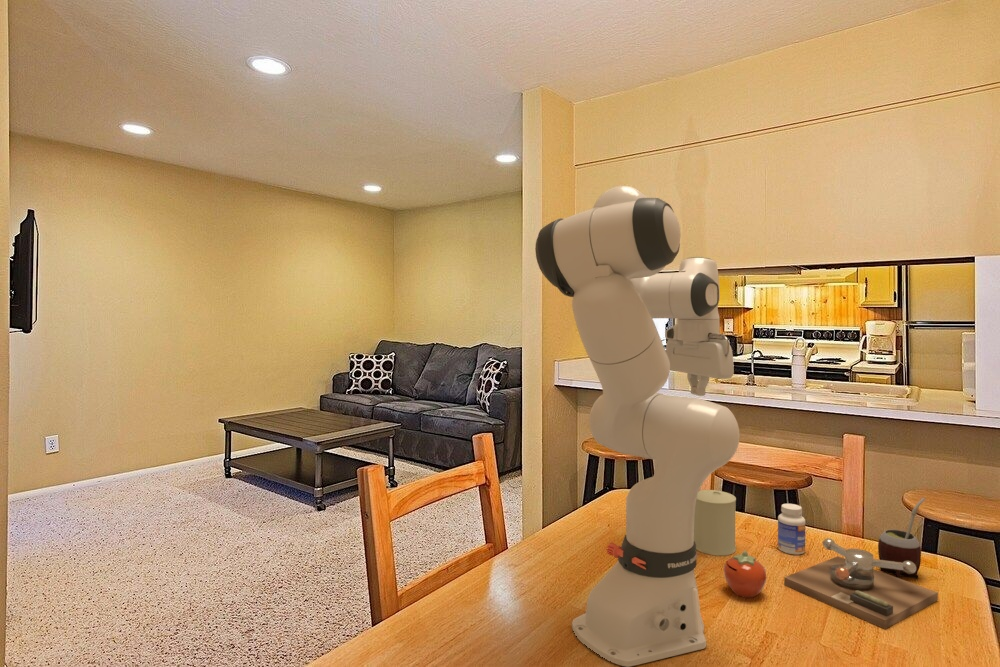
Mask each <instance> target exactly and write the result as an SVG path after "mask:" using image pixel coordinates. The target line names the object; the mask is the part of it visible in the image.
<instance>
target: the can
mask: <svg viewBox="0 0 1000 667" xmlns="http://www.w3.org/2000/svg"><path fill="white" fill-rule="evenodd" d="M736 502H737V497H736V496H735V495H734V494H731V493H730V492H726V491H723V490H716V489H715V490H714V489H700V490H699V492H698V495H697V499H696V504H695V516H694V541H695V543H696V551H698V552H700V553H702V554H705V555H711V556H717V557H718V556H719V557H721V556H722V557H723V556H730V555H732V554H734V553H736V551H737V546H736V504H737V503H736Z"/></svg>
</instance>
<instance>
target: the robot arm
mask: <svg viewBox="0 0 1000 667" xmlns="http://www.w3.org/2000/svg"><path fill="white" fill-rule="evenodd" d="M673 209H674V208H672V206H671V204H669V203H668V202H666V201H665V200H663V199H662V198H660V197H659V198H657V197H648V196H647V195H646V194H644V193H643V192H641V191H640V190H638V189H637V188H636V187H633V186H629V185H617V186H613V187H611V188H609V189H607V190H606V191H604V192H603V193H602V194H601V195H600V196H599V197H598V198H597V200H596V201H595V202H594V204H593V207H592V208H591V209H590V208H589V209H586V210H583V211H581V212H578V213H575V214H573V215H569V216H568V217H565V218H558V219H555V220H552V221H551V222H550V223H548V224H546V225H545V226H543V227H542V228H541V229H540V230H539V232H538V235H537V237H536V241H535V245H534V246H535V248H534V249H535V257H536V262H537V265H538V268H539V270H540V272H541V274H542V275H543V276H544V277H545V278H546V279H547V281H548V282H549V283H550V284H552V286H554V287H555V288H557V289H558V290H559V292H560V293H562V294H563V295H564V296H566V297H570V298H572V301H571V307H572V313H573V317H574V320H575V325H576V328H577V331H578V334H579V337H580V340H581V342H582V345H583V348H584V349H585V352H586V354H587V356H588V358H589V360H590V362H591V364H592V367H593V369H594V371H595V373H596V376H597V378H598V380H599V383H600V385H601V389H602V394H601V395H600V396H599V397H598V398H596V400H595V401H594V403H593V405H592V407H591V409H590V412H589V418H588V420H589V422H588V424H589V430H590V434H591V436H592V438H593V440H594V441H596V443H597V444H599V445H601V446H603V447H606V448H607V449H610V450H612V451H615V452H616V453H620V454H623V455H629V456H632V457H633V456H634V457H640V458H645V459H649V460H653V461H654V463H655V467H654V474H653V476H651V477H648V478H645V479H643V480H641V481H638V482H636V483H635V484H634V485H633V486H632V487H631V488H630V490H629V491H628V493H627V495H626V498H625V499H626V501H625V502H626V503H625V504H626V506H625V508H626V509H625V512H626V513H625V515H626V516H625V517H626V519H625V520H626V522H625V523H626V524H625V526H626V530H625V532H626V533H625V535H624V536H623V540H622V543H621V546H620V545H617V544H616V543H614V542H610V543H608V544H607V546H606V553H607V554H608V555H610V556H612V557H613V558H616V559H617V561H616V563H615V564H614V565H613V566H612V567H611V569H610V570H609V571H608V572H607V573H606V574H605V575H604V576H603V578H601V580H600V581H599V582H598V583H597V584H595V586H594V587H593V588H592V589H591V590H590V592H589V593H588V597H587V602H586V607H585V608H586V609H585V613H584V612H583V613H582V614H580V615H579V616H577V617H575V618H573V619H572V622H571V629H572V632H573V631H574V632H573V633H575V634H574V635H575V637H576V636H577V637H576V638H577V639H578V641H580V642H581V643H582V644H583V645H584V644H585V645H586V646H587V647H586V646H585V645H584V646H585V647H586V648H588V649H589V648H590V649H591V650H590V649H589V650H590V651H592V650H593V651H594V652H596V653H597V654H599V655H600V656H599V655H598V656H599V657H601V658H602V657H603V658H602V659H604V658H605V659H604V660H606V659H607V660H606V661H609V662H610V661H611V662H610V663H612V664H616V665H618V666H622V667H634V666H639V665H643V664H646V663H650V662H654V661H658V660H663V659H666V658H670V657H676V656H679V655H680V656H681V655H683V654H684V655H685V654H687V653H691V652H696V651H700V650H703V649H705V648H707V640H706V639H707V638H706V637H705V634H704V630H705V625H704V622H703V618H702V615H701V614H702V613H701V608H700V605H701V604H700V598H699V590H698V585H697V580H696V574H695V573H696V572H695V569H696V567H697V564H698V562H697V558H698V553H697V550H696V543H695V541H694V516H695V504H696V499H697V495H698V492H699V491H700V490H701V487H702V486H703V483H704V482H705V481H706V480H707V479H708V477H709V476H710V475H711V474H713V473H714V472H715V471H717V470H718V469H720V468H721V467H723V466H725V465H726V464H728V463H729V462H730V461H731V460H732V458H733V457H734V455H735V454H736V452H737V450H738V448H739V444H740V437H741V436H740V426H739V423H738V421H737V419H736V416H735V415H734V413H733V412H732V411H731V410H730V409H729V408H728V407H727V406H725V405H721V404H719V403H715V402H712V401H709V400H706V399H703V398H699V397H703V396H704V397H705V396H706V388H707V386H708V384H709V382H710V378H712V379H716V380H726V379H729V380H730V379H731V378H733V376H734V373H735V370H734V369H735V367H734V355H733V349H732V346H731V345H730V340H729V339H728V338H727V336H726V334H723V333H720V330H721V329H720V327H721V326H720V314H719V309H718V308H719V302H720V299H721V290H720V289H721V288H720V277H719V270H718V265H717V262H716V260H713V259H711V258H709V257H703V256H701V257H700V256H695V257H694V256H693V257H687V258H684V259H682V260H681V261H680V264H679V269H678V272H662V273H661V271H662V270H663V269H664V268H665V267H666V266H668V265H670V264H671V263H672V262H674V260H676V257H678V256H677V255H678V254H679V251H680V246H681V243H680V242H681V227H680V223H679V219H678V217H677V216H676V214H675V211H674V210H673ZM654 319H677V321H676V324H674V325H672V326H671V327H669V328H667V329H666V330H665V335H664V336H665V339H666V345H665V346H664V344H663V341H662V339H661V336H660V334H659V331H658V329H657V326H656V324H655V322H654ZM670 371H672V372H679V373H683V374H686V375H687V378H686V379H687V381H688V384H689V386H690V394H691V395H695V396H699V397H698V398H697V397H690V396H689V397H688V396H679V395H670V394H669V395H668V394H667V395H666V394H663V393H659V391H660V390H661V389H662V388H663V387H665V386H664V385H665V384H666V382H668V378H669V376H670ZM593 651H592V652H593ZM594 652H593V653H594ZM596 653H595V654H596ZM597 654H596V655H597Z"/></svg>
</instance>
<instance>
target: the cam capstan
mask: <svg viewBox="0 0 1000 667" xmlns="http://www.w3.org/2000/svg"><path fill="white" fill-rule="evenodd" d="M822 545H823V547H824V548H825V549H826V550H828V551H833V552H835V553H837V554H839V555H840V556H841V557H843V558H845V559H846V560H845V564H837V565H833V566H832V567H831V570H830V577H831V579H832V580H833V581H834V582H835V583H837V584H839V585H841V586H844V587H847V588H852V589H858V590H867V589H871V588H873V587H874V575H873V569H874V567H875V568H880V567H882V568H890V569H897V570H903V571H905V572H906V573H909V574H912V573H914V572H915V571H916V566H915V564H914V563H913V562H911V561H904V562H903V563H901V562H893V561H885V560H879V559H875V558H874V555H873V553H871V552H869V551H868V550H863V549H860V548H847V549H846V548H844V547H842V546H840V545H839V544H837V543H836V542H835V540H833V539H832V538H830V537H829V538H828V537H827V538H825V539H824V540H823V542H822Z"/></svg>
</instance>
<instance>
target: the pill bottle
mask: <svg viewBox="0 0 1000 667" xmlns="http://www.w3.org/2000/svg"><path fill="white" fill-rule="evenodd" d="M780 511H781V513H780V514H779V515H778V516H777V548H778V549H779V550H780V552H781V551H782V552H783V553H785V554H789V555H799V556H800V555H803V554H804V553H805V552H806V519H805V517H803V516H802V514H803V508H802V506H801V505H799V504H795V503H783V504H781V507H780Z"/></svg>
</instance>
